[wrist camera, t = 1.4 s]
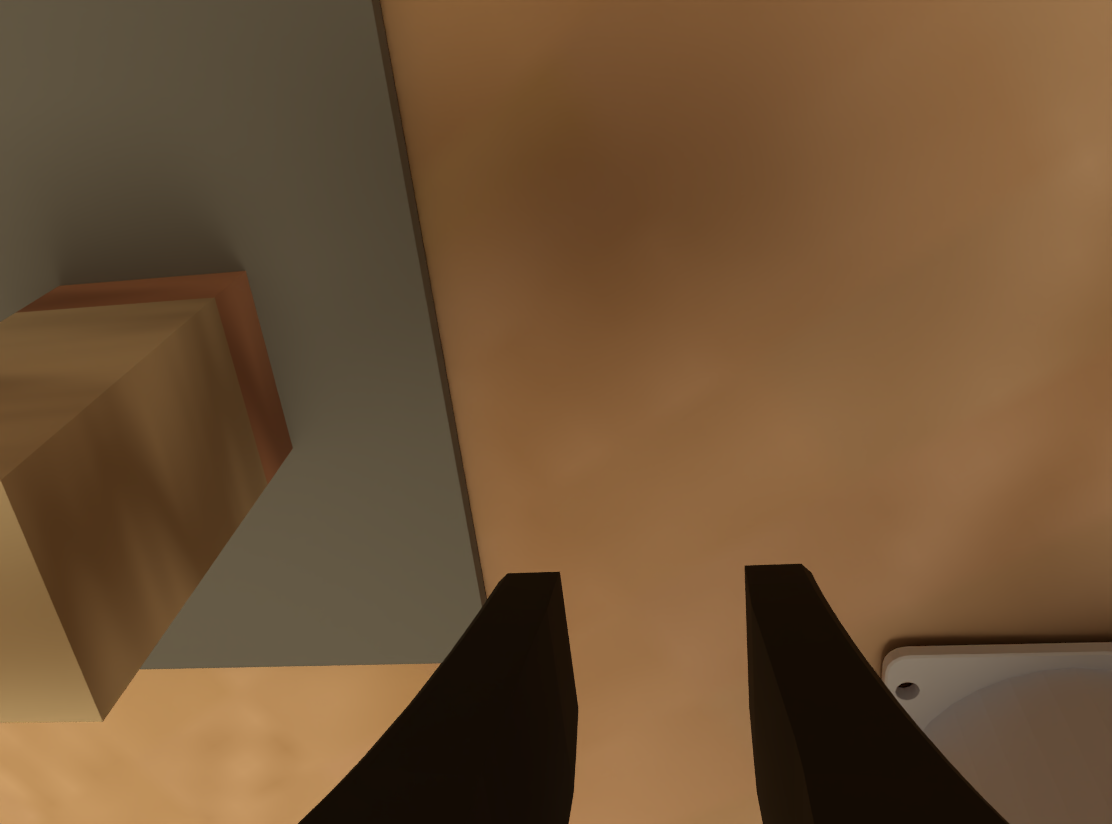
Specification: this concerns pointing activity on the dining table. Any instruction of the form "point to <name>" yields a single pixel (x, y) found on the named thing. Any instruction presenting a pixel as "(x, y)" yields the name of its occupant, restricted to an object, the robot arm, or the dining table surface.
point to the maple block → (121, 475)
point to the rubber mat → (261, 294)
